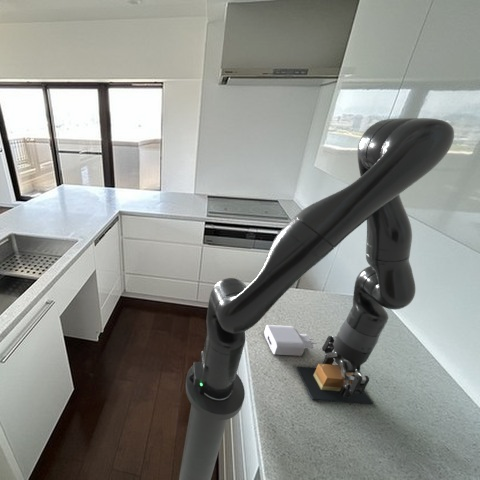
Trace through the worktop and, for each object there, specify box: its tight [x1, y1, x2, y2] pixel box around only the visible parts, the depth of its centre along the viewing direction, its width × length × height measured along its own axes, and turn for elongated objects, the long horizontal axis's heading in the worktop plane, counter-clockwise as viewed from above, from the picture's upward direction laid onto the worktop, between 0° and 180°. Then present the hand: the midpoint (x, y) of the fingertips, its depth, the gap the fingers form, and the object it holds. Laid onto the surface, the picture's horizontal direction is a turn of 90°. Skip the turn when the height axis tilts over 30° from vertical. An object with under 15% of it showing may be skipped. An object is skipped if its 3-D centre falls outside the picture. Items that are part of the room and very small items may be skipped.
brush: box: [313, 363, 352, 391], centre depth 72 cm, size 9×4×5 cm, turn 88°
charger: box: [263, 324, 317, 356], centre depth 84 cm, size 5×9×15 cm
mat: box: [296, 365, 374, 405], centre depth 73 cm, size 16×10×1 cm, turn 87°
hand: (333, 380), depth 72 cm, fingers open, 8 cm apart
